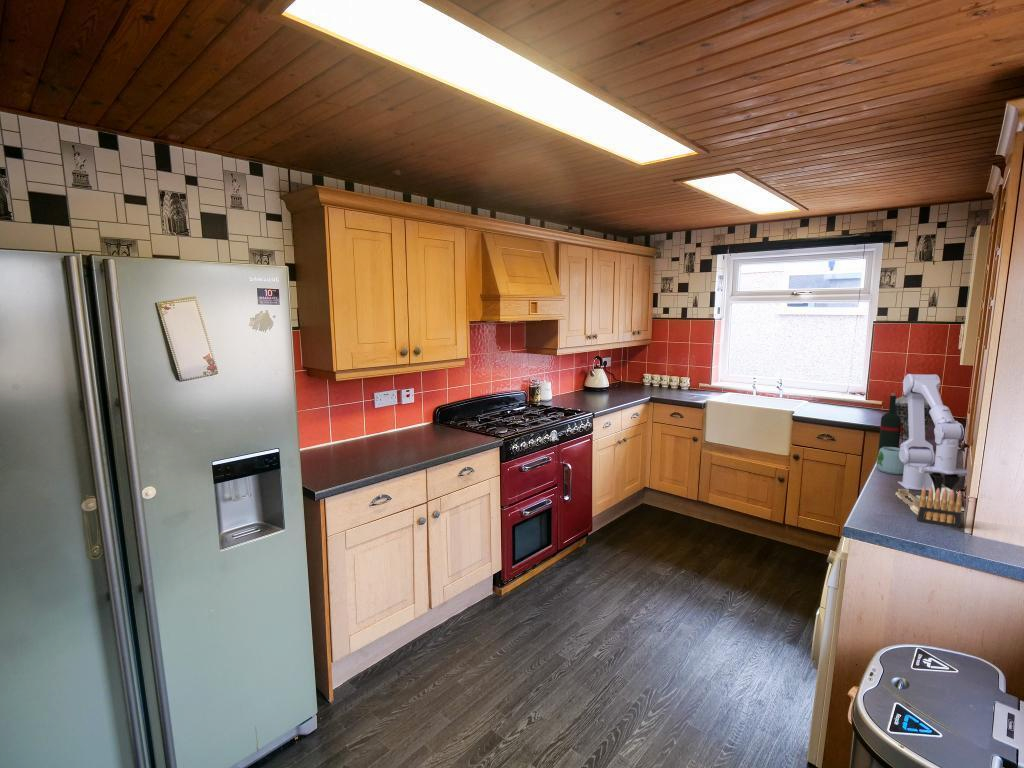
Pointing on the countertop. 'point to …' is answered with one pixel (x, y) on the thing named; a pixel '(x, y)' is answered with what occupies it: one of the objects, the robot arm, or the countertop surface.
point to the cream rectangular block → (942, 492)
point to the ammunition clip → (940, 508)
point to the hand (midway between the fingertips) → (942, 494)
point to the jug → (902, 412)
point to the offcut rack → (913, 505)
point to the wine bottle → (890, 427)
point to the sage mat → (933, 502)
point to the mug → (890, 460)
